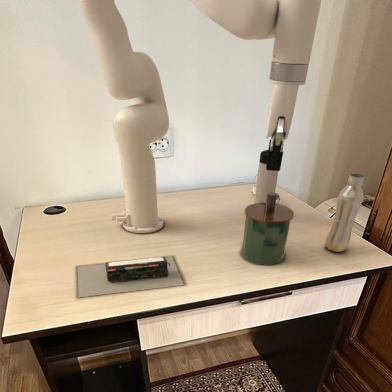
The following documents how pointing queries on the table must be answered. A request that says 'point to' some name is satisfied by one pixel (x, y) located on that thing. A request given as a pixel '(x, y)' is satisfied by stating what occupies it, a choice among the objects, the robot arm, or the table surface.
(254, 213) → the lid
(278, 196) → the woman figurine
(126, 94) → the robot arm
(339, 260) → the table surface
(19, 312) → the table surface
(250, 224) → the green ceramic cup
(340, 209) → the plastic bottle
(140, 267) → the grey board with block
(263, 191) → the travel mug
